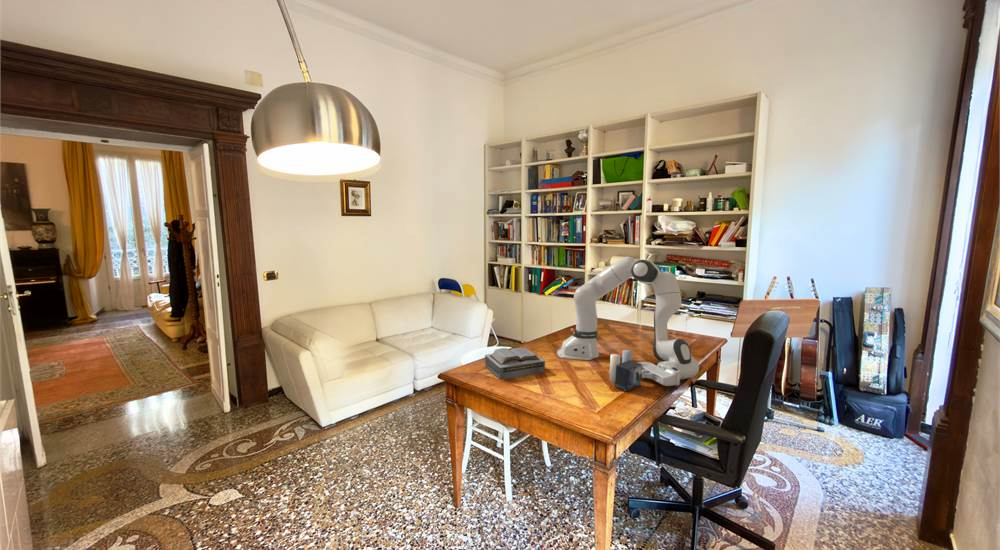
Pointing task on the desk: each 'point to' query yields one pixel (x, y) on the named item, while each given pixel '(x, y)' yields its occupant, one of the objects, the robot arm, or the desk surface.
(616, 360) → the cream post
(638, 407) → the desk surface
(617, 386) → the small box
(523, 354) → the bible
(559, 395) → the desk surface
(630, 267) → the robot arm
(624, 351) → the slate post
